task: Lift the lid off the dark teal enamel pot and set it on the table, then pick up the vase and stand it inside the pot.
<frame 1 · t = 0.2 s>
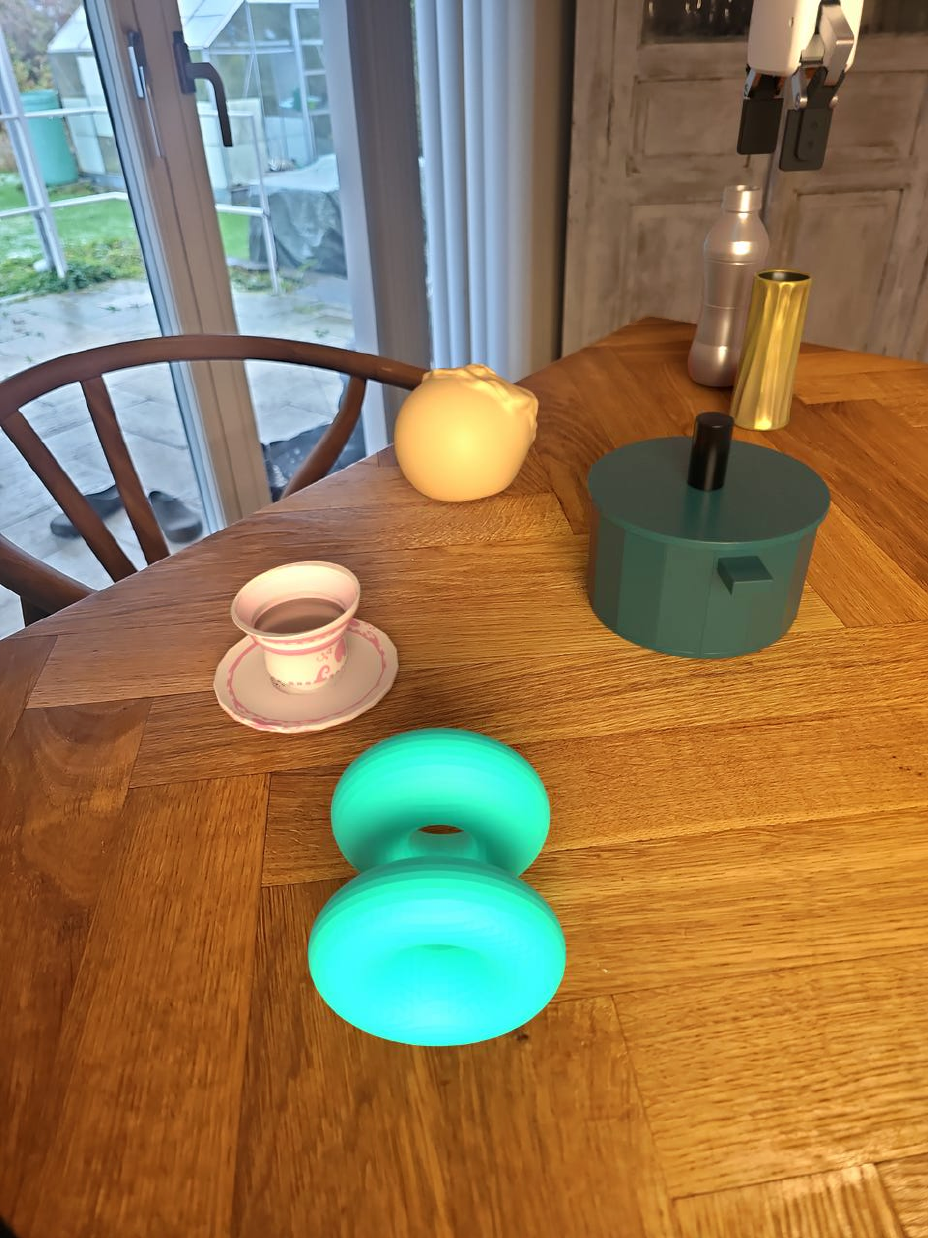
hand: (776, 161, 68), 25 cm above the table, tool pointing down, fingers open, 9 cm apart
turquoise spool: (444, 953, 39), on the table
teacup: (308, 676, 56), on the table
pot: (688, 597, 61), on the table
vase: (757, 422, 87), on the table
plastic bottle: (715, 385, 96), on the table
pot lid: (704, 491, 56), point 8 cm above the table, touching pot
sculpture: (464, 487, 77), on the table
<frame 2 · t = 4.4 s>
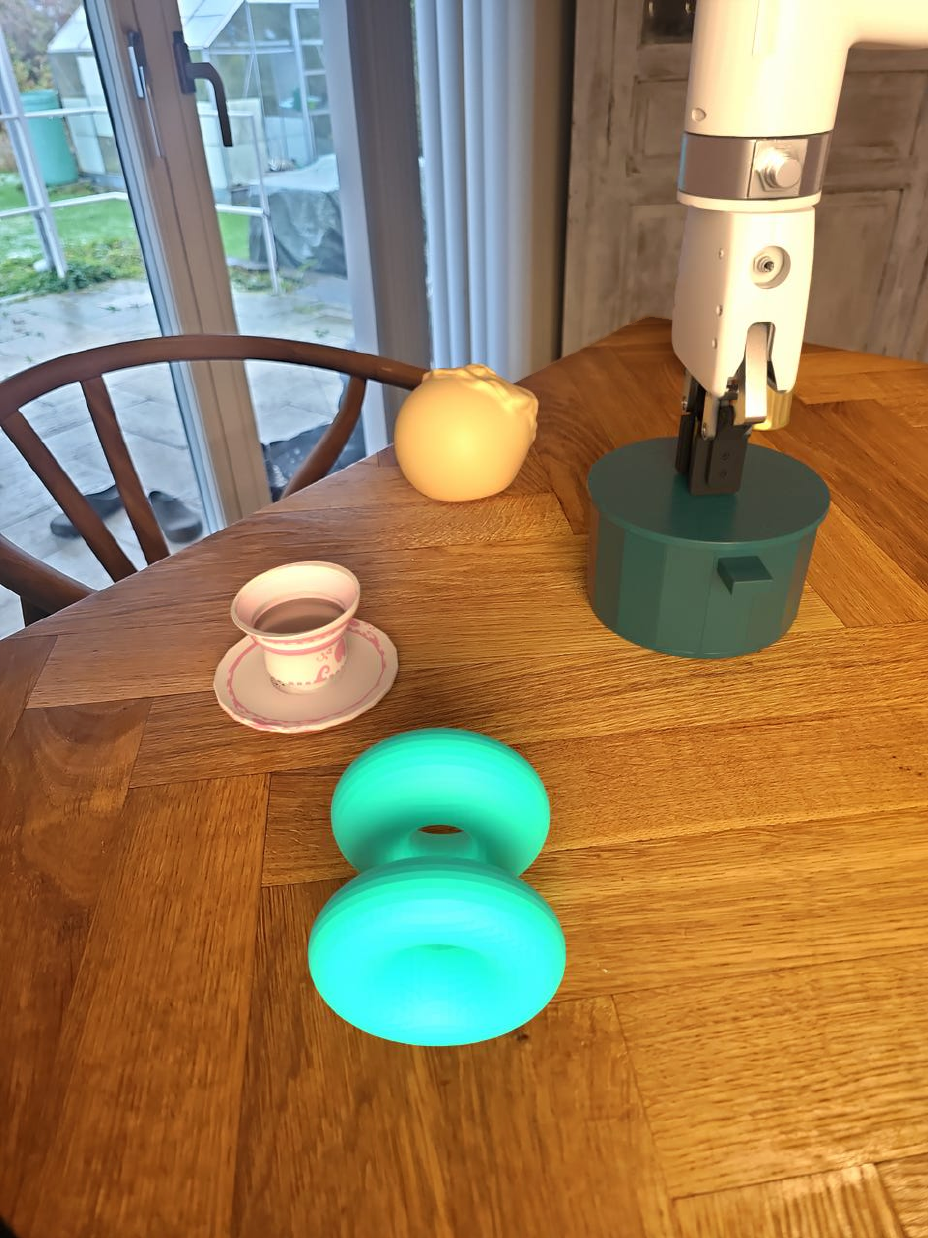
hand: (706, 479, 56), 9 cm above the table, tool pointing down, fingers closed on pot lid, 2 cm apart
pot lid: (704, 491, 56), point 9 cm above the table, touching gripper, pot
everything else where it was.
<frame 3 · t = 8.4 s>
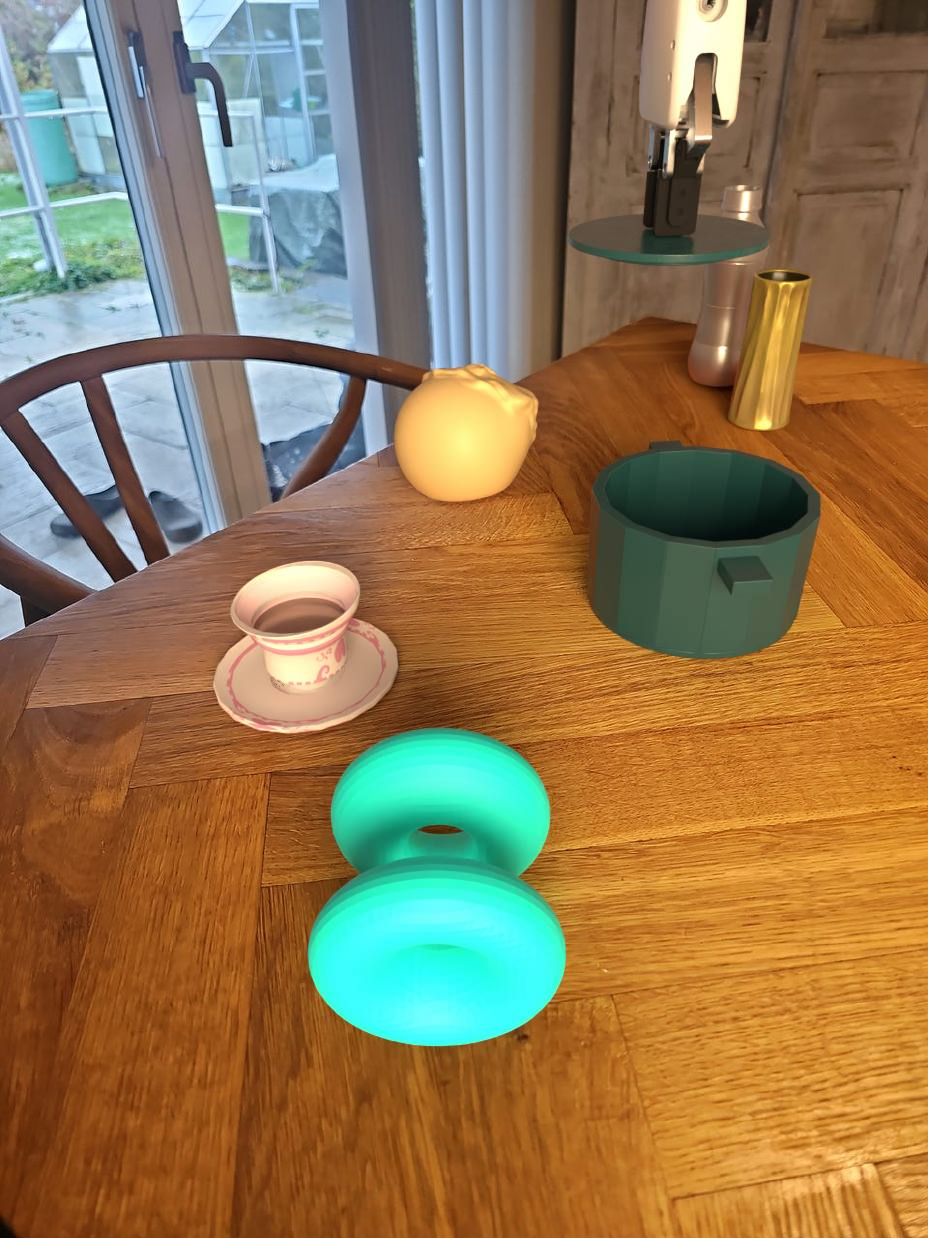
hand: (668, 228, 67), 21 cm above the table, tool pointing down, fingers closed on pot lid, 2 cm apart
pot lid: (666, 239, 67), point 20 cm above the table, touching gripper
everything else where it was.
when the fingers open (1 cm above the table, at t = 12.6 s): pot lid stays where it is, point 1 cm above the table.
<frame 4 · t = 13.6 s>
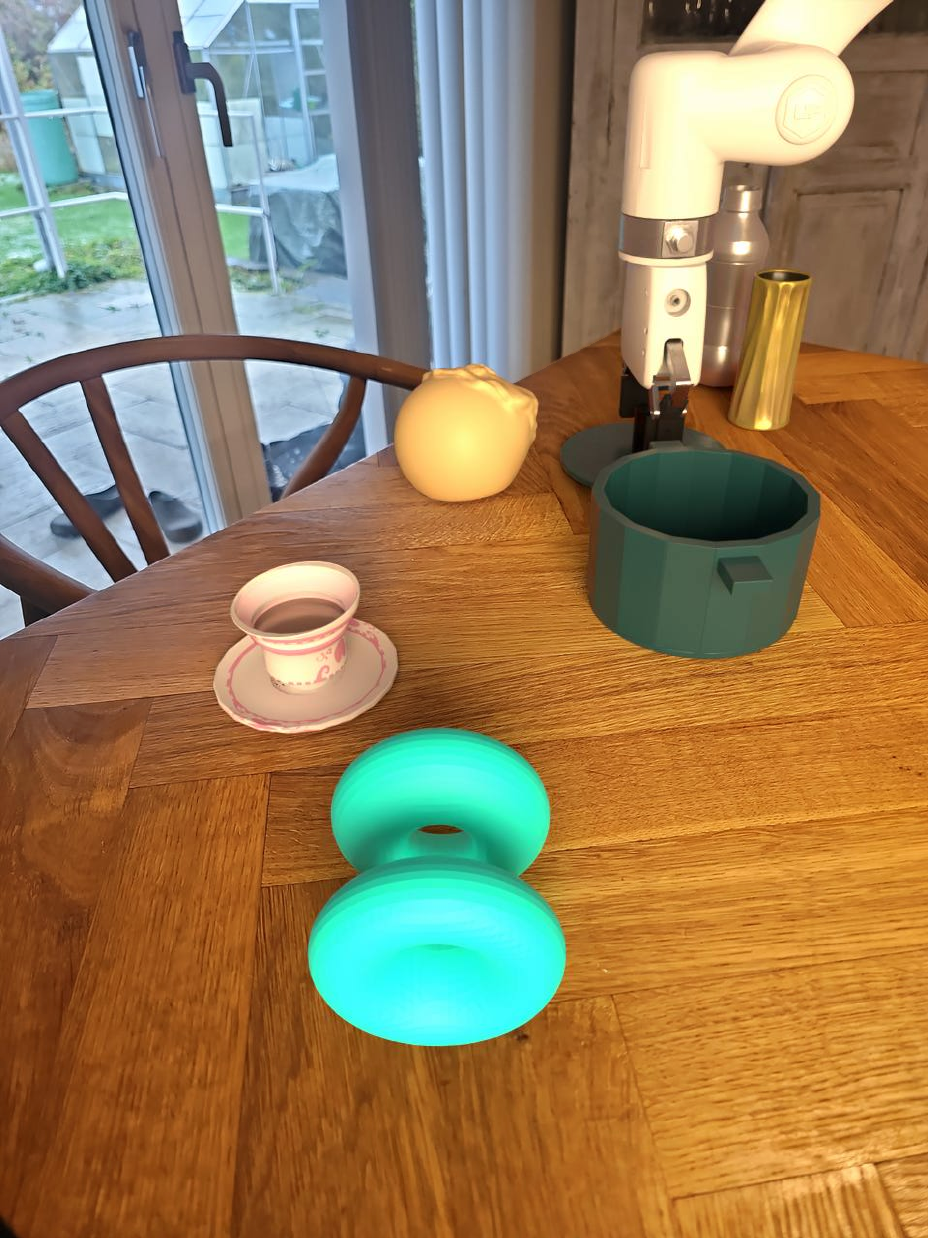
hand: (647, 436, 78), 3 cm above the table, tool pointing down, fingers open, 9 cm apart
pot lid: (643, 459, 79), point 1 cm above the table
everything else where it was.
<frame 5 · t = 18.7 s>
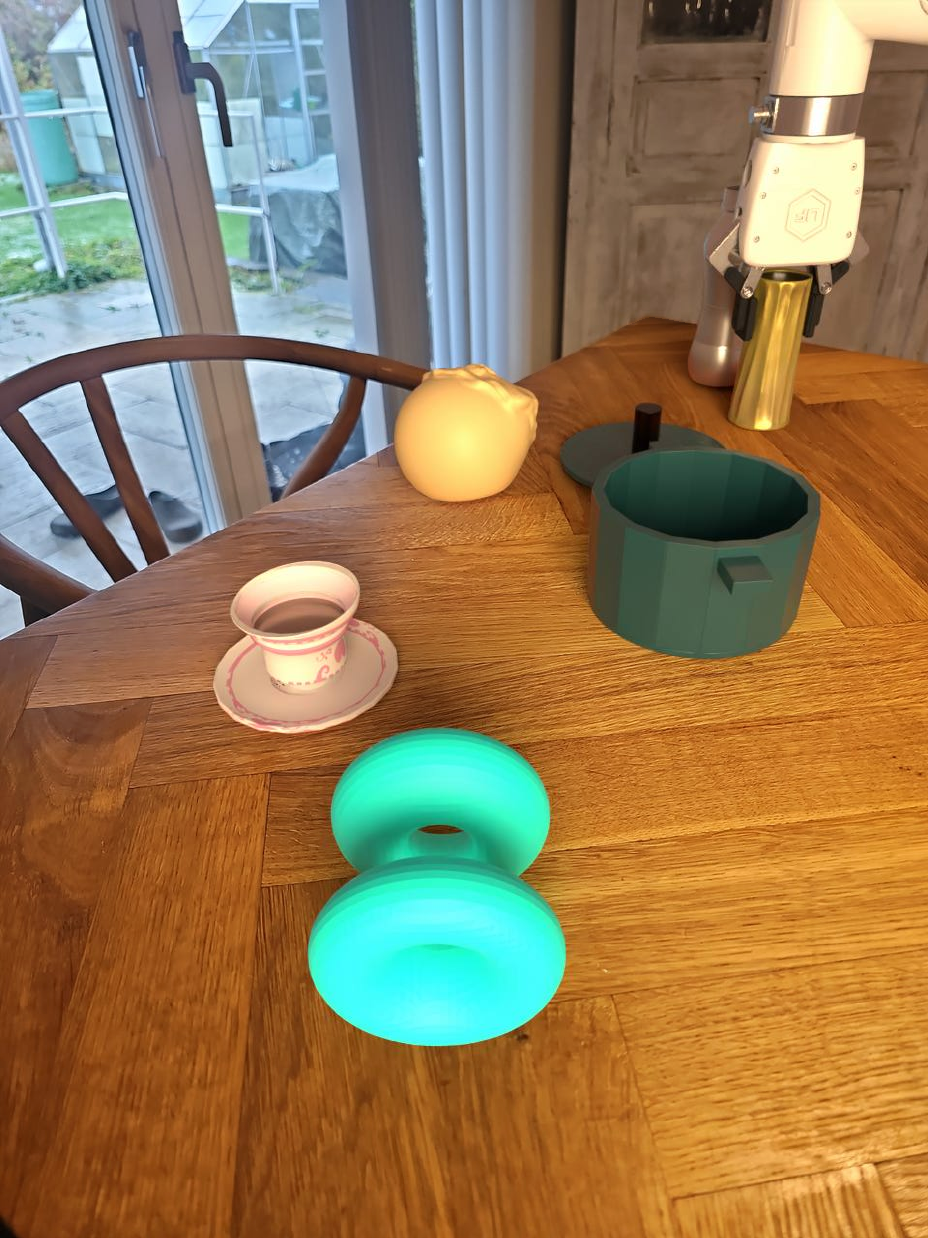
hand: (773, 333, 82), 9 cm above the table, tool pointing down, fingers closed on vase, 5 cm apart
vase: (757, 422, 87), on the table, touching gripper
everything else where it was.
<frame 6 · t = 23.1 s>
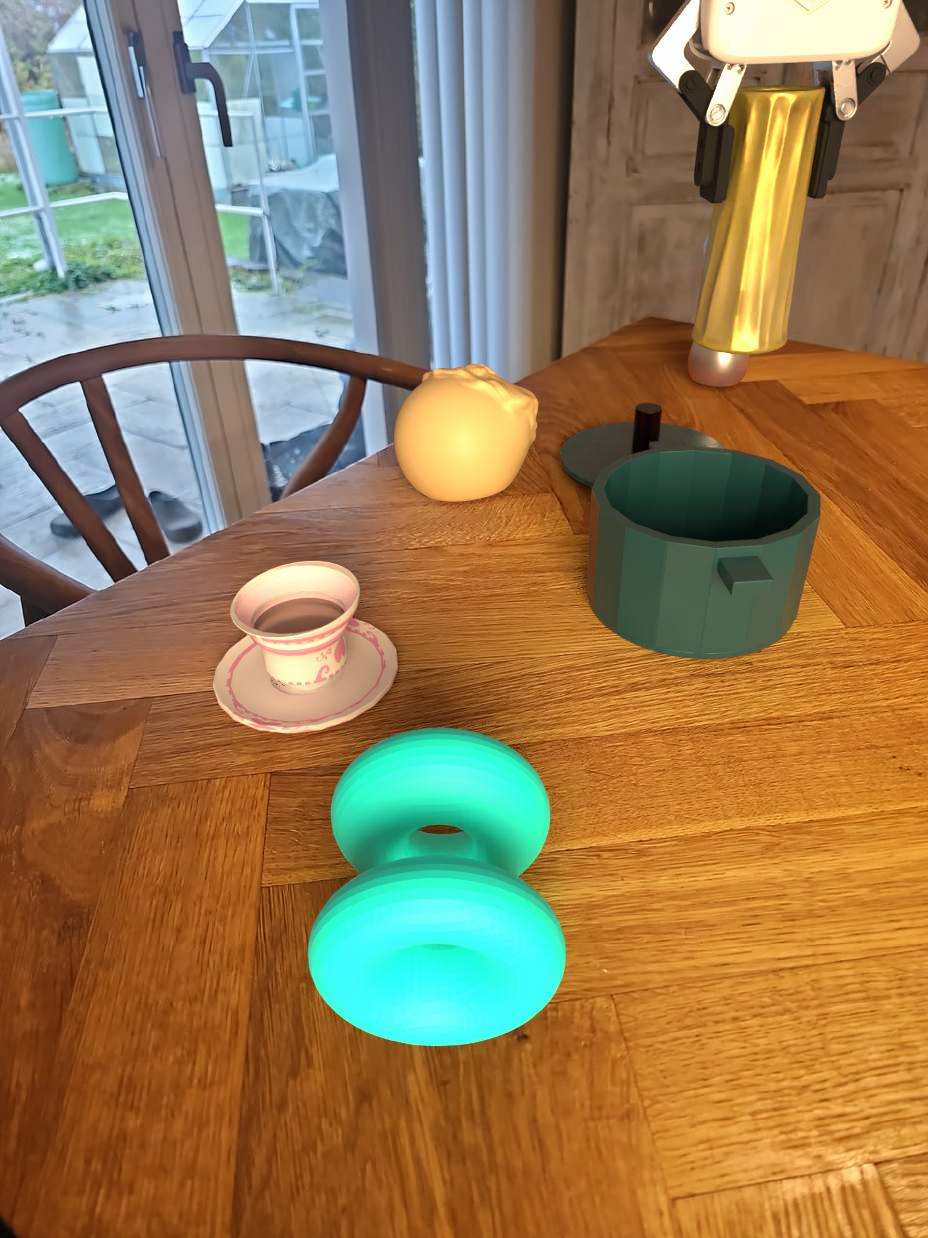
hand: (760, 193, 51), 26 cm above the table, tool pointing down, fingers closed on vase, 5 cm apart
vase: (737, 343, 56), point 16 cm above the table, touching gripper
everything else where it was.
when the fingers open (9 cm above the table, at t = 27.7 s): vase stays where it is, resting on pot.
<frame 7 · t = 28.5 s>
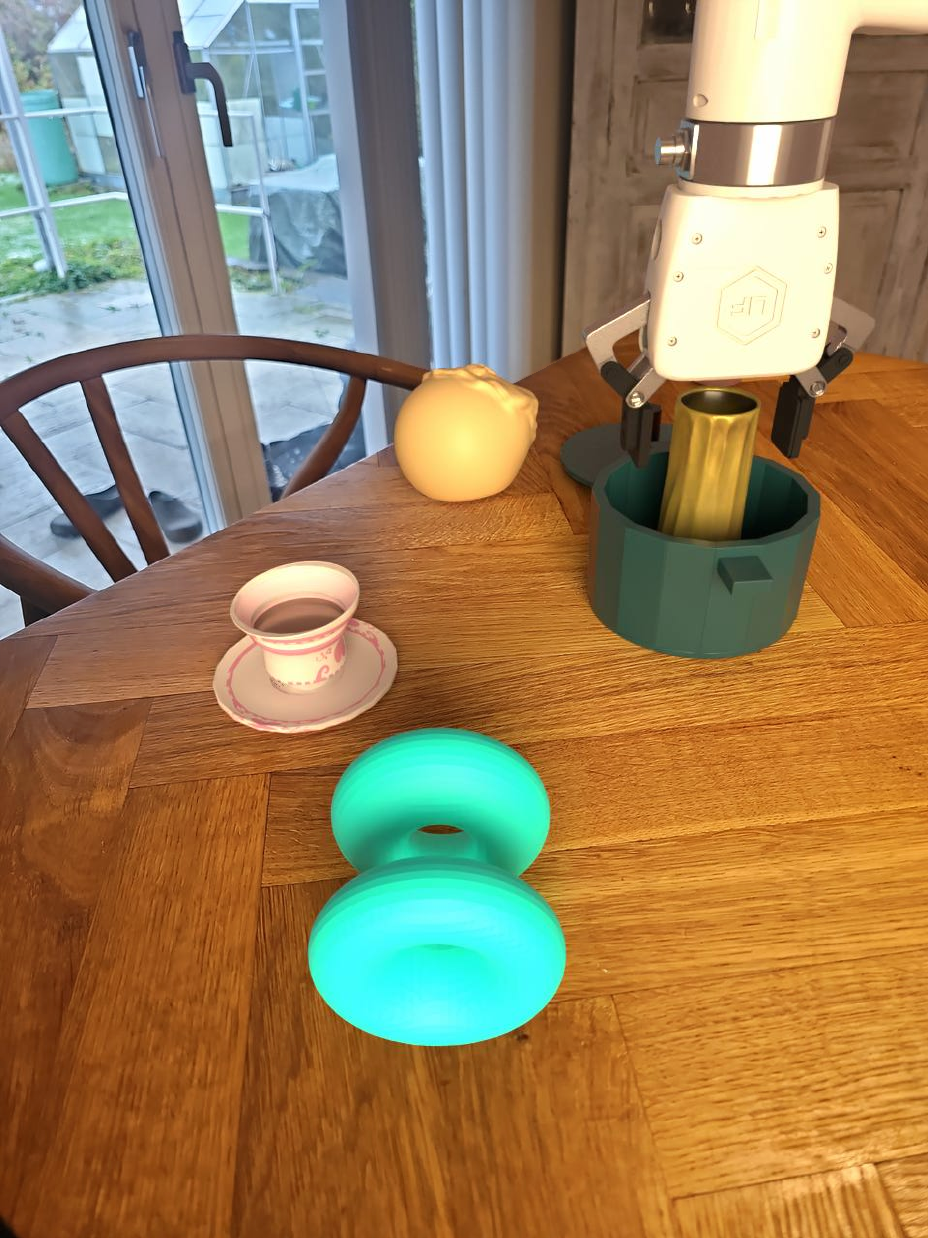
hand: (710, 454, 55), 11 cm above the table, tool pointing down, fingers open, 9 cm apart
vase: (690, 592, 61), resting on pot
everything else where it was.
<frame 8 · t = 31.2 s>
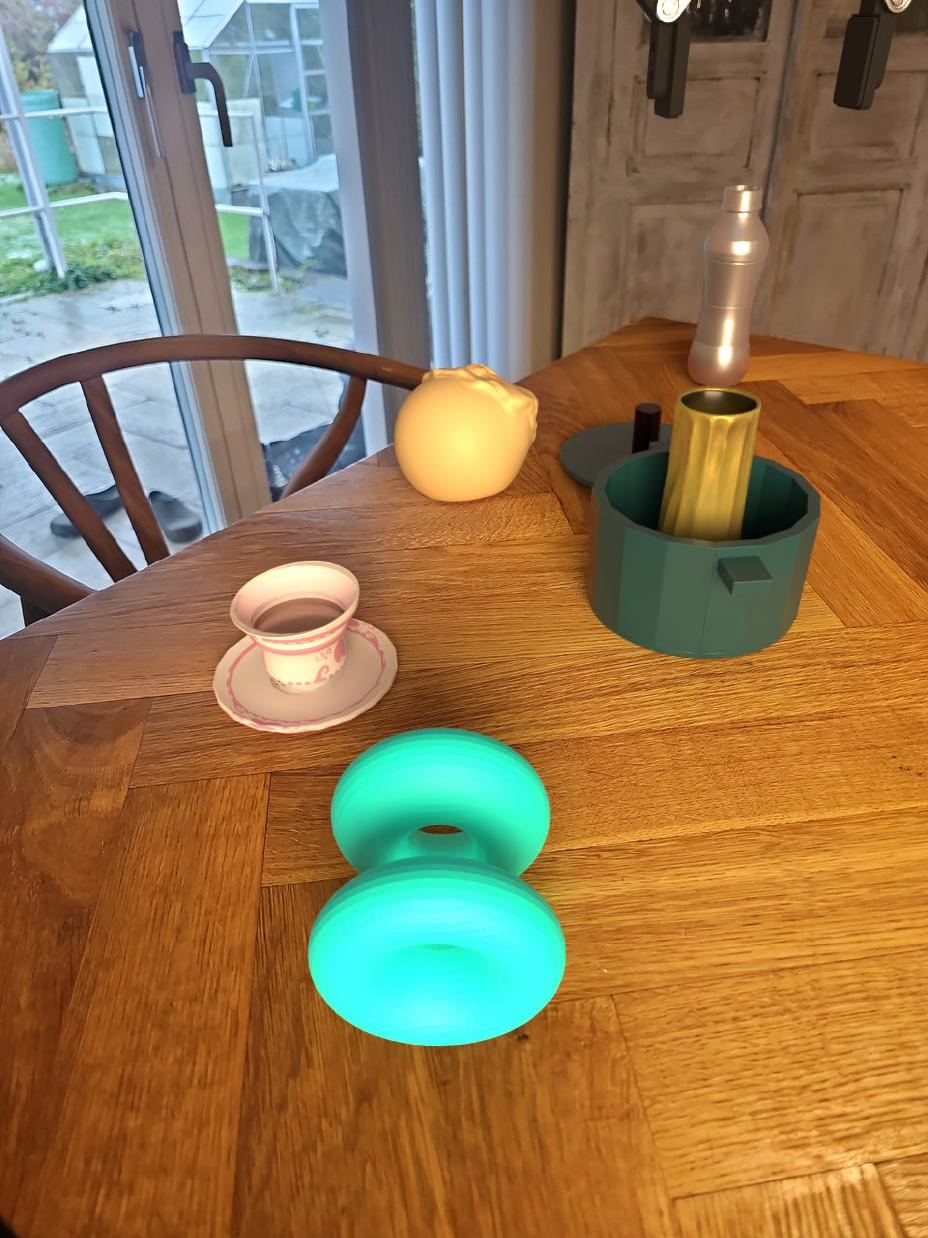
hand: (759, 111, 44), 30 cm above the table, tool pointing down, fingers open, 9 cm apart
nothing on the table moved.
at the end: vase 0.1 cm off-centre in the pot, point 0.3 cm above the pot's base; vase tilted 0°; pot lid inside the target area (0.1 cm from its centre), point 0.6 cm above the table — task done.
